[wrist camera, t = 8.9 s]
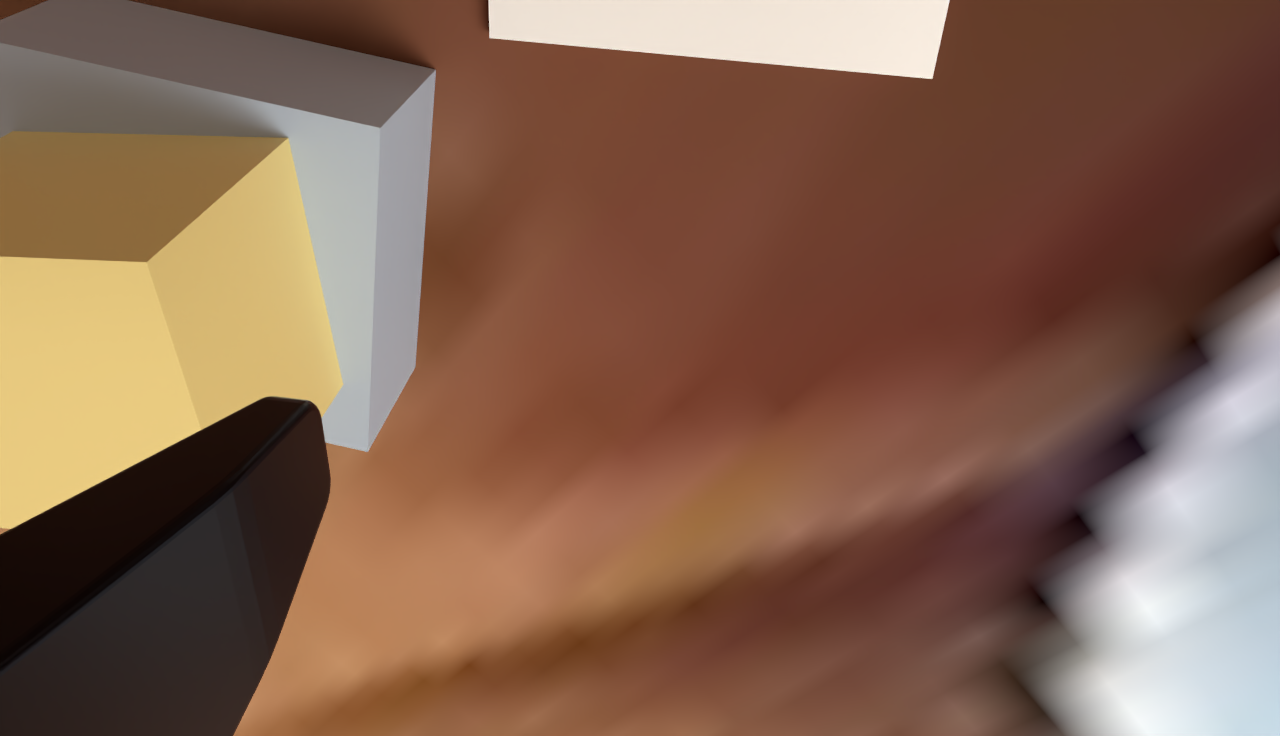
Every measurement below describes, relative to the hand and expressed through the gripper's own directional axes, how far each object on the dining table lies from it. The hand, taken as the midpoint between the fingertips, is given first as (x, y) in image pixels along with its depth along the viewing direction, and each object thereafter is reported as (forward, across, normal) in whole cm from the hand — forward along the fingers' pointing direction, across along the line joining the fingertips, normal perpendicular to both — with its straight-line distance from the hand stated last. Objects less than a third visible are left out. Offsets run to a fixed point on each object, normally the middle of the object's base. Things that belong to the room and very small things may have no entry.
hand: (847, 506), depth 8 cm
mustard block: (+9, +11, +4) cm, 15 cm away
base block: (+12, +11, +4) cm, 17 cm away
